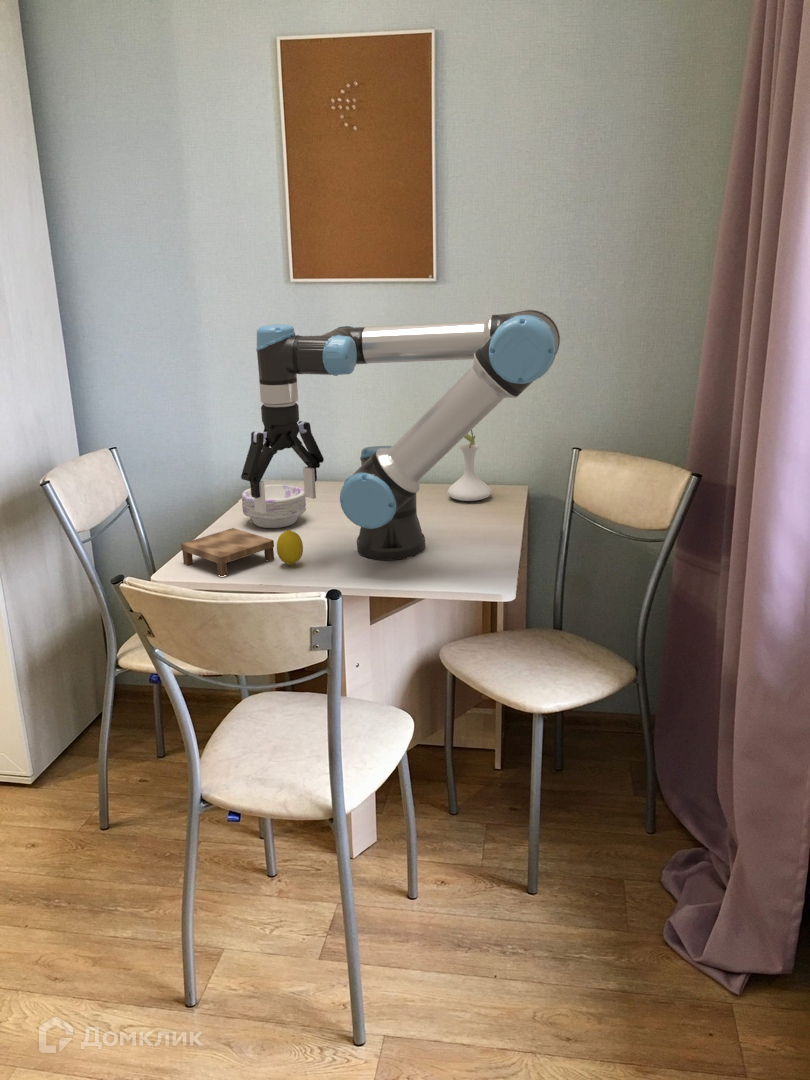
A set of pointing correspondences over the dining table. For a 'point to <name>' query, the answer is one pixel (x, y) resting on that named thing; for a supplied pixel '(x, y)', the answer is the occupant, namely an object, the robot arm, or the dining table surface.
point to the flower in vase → (469, 477)
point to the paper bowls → (276, 506)
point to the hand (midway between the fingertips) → (286, 504)
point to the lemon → (289, 547)
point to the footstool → (227, 547)
